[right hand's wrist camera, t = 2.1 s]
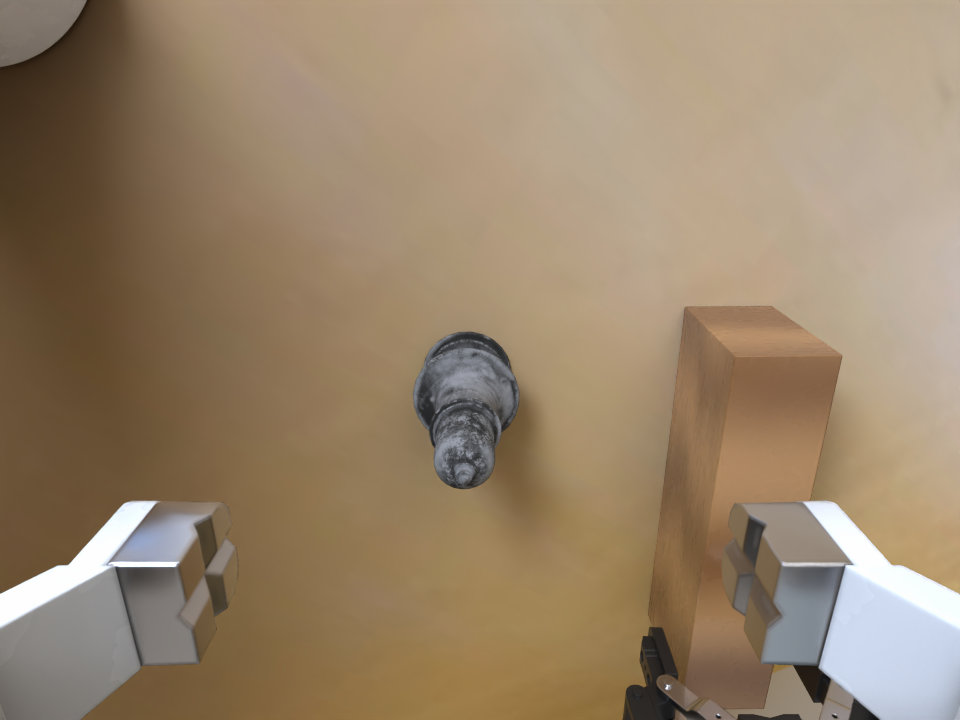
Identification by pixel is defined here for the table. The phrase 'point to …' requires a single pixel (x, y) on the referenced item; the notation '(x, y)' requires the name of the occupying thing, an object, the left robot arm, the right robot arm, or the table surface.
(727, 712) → the left robot arm
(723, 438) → the bar
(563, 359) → the table surface
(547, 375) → the table surface
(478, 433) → the dark grey chess piece
